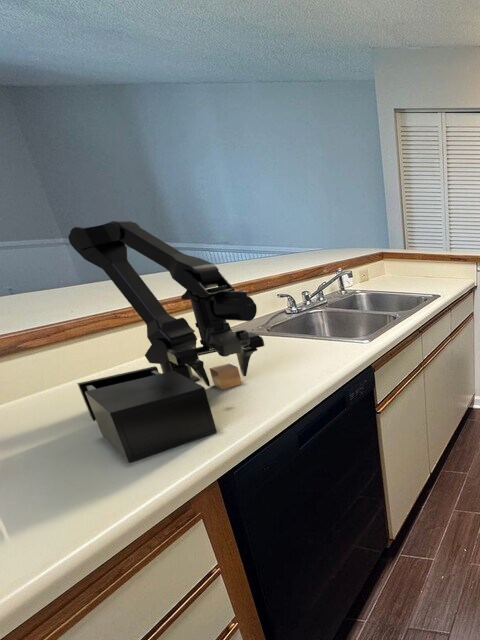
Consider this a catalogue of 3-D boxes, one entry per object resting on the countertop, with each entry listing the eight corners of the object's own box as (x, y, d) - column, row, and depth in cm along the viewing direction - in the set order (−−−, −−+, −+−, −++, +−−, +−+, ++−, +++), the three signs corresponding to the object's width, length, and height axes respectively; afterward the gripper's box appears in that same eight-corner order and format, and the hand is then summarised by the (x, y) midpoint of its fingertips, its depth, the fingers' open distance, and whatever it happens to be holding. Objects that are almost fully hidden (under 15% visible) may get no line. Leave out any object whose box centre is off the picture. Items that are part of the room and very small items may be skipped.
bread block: (213, 385, 104) (209, 368, 102) (233, 380, 107) (229, 363, 105) (222, 389, 101) (217, 372, 100) (242, 384, 105) (237, 367, 103)
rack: (90, 417, 85) (75, 381, 82) (163, 397, 95) (153, 364, 92) (112, 439, 77) (97, 400, 74) (190, 415, 87) (180, 380, 84)
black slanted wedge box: (103, 437, 80) (84, 391, 76) (186, 412, 90) (173, 370, 86) (129, 463, 72) (109, 413, 68) (217, 432, 82) (204, 387, 79)
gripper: (177, 332, 87) (197, 401, 93) (269, 316, 101) (281, 377, 107) (157, 324, 92) (177, 389, 98) (246, 310, 107) (259, 367, 113)
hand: (226, 380), depth 104 cm, fingers open, 8 cm apart
